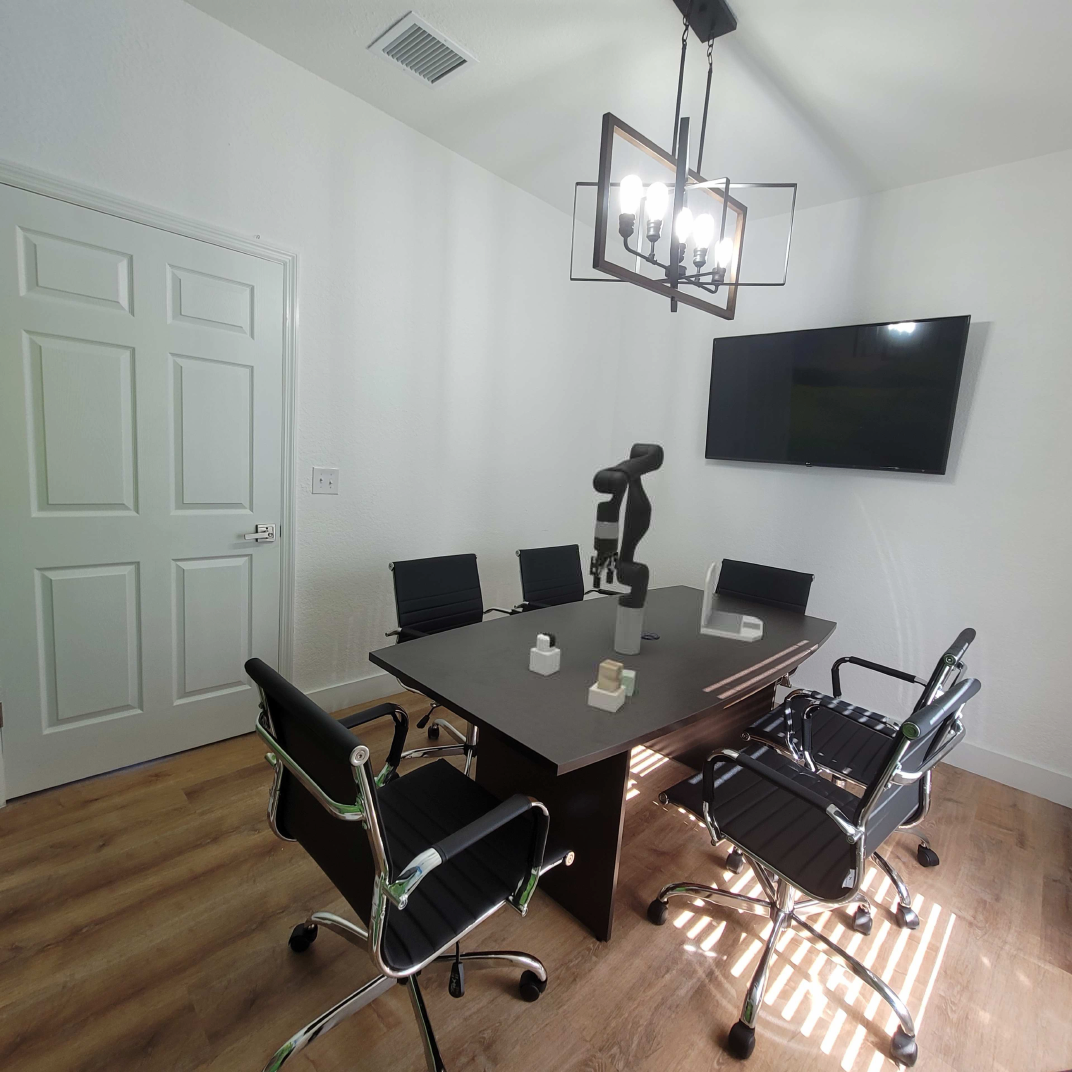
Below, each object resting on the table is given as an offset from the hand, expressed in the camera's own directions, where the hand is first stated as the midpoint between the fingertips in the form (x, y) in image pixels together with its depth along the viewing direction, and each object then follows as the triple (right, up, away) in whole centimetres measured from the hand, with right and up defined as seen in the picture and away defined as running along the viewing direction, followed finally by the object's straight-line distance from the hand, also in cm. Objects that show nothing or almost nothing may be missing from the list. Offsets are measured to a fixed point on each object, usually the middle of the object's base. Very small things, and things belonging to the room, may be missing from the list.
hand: (602, 585), depth 173 cm
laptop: (+65, -25, +66) cm, 96 cm away
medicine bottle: (-19, -28, +5) cm, 34 cm away
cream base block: (-1, -32, -17) cm, 36 cm away
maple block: (0, -27, -17) cm, 32 cm away
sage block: (+5, -31, -8) cm, 33 cm away
